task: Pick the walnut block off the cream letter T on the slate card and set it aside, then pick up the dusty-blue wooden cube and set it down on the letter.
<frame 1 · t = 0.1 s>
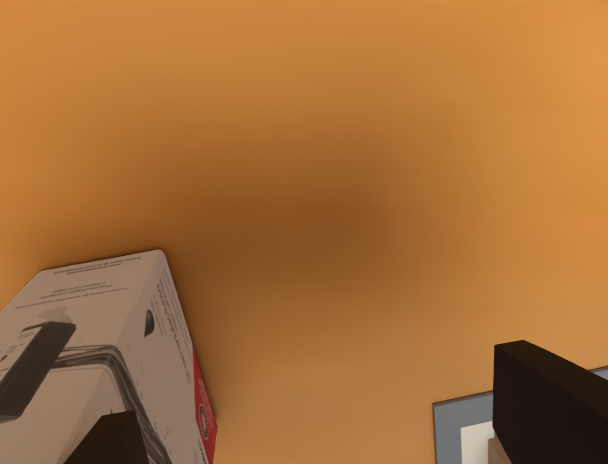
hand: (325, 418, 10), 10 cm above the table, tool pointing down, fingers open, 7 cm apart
ink box: (137, 351, 20), on the table
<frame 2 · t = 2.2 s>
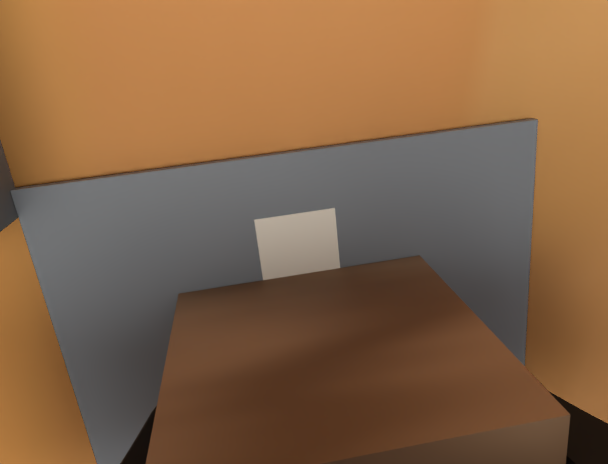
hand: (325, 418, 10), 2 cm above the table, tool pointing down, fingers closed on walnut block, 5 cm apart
walnut block: (314, 376, 11), resting on letter card, touching gripper
letter card: (312, 370, 11), on the table
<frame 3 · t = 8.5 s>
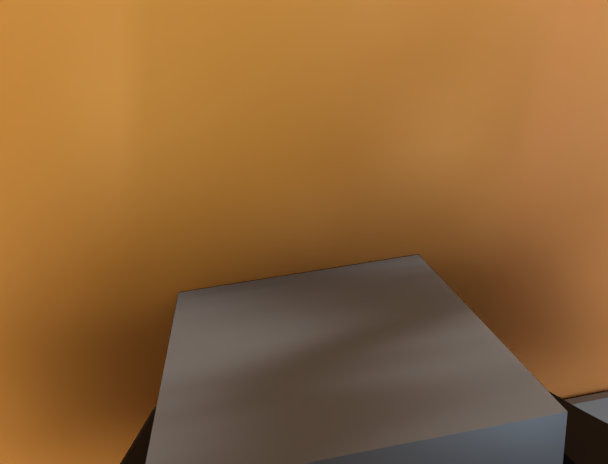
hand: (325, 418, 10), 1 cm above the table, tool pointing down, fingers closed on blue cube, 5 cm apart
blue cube: (313, 374, 11), on the table, touching gripper
when the fingers open (3 cm above the table, at t = 12.0 s): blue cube drops 2 cm, resting on letter card.
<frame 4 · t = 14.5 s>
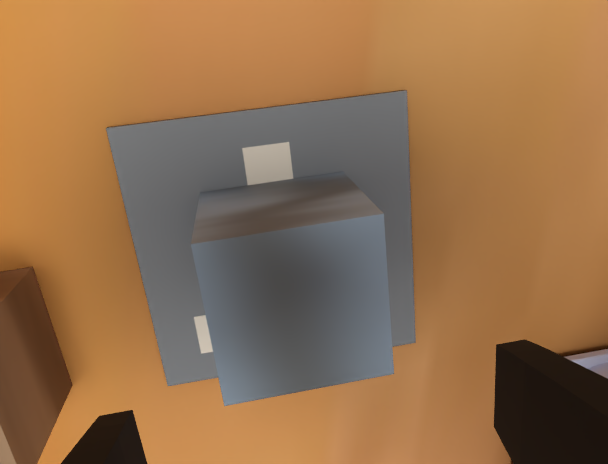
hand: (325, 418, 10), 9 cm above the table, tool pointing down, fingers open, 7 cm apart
letter card: (278, 246, 19), on the table
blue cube: (281, 247, 19), resting on letter card
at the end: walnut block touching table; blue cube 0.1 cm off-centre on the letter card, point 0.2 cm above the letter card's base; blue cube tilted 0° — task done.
